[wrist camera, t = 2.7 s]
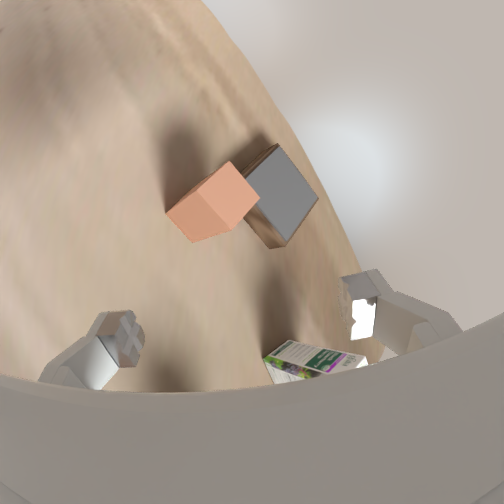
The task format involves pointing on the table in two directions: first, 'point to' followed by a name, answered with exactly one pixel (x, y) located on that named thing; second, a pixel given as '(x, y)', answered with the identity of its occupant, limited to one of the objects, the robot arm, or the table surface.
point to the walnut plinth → (277, 197)
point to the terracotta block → (214, 204)
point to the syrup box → (308, 362)
